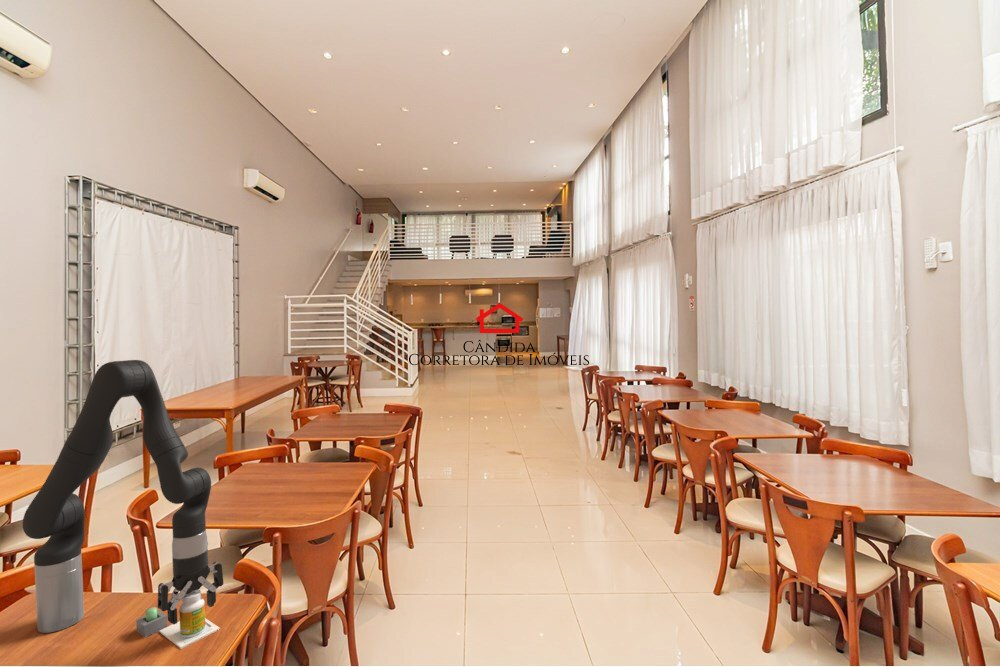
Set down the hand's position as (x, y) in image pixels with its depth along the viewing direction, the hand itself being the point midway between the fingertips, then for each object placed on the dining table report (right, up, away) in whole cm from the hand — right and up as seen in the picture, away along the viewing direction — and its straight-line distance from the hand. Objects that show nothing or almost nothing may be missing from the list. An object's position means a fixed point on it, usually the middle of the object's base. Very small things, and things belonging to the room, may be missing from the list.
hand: (192, 614), depth 124 cm
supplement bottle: (0, -5, 0) cm, 5 cm away
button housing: (-12, -5, +2) cm, 13 cm away
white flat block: (-2, -5, +1) cm, 5 cm away
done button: (-12, -3, +2) cm, 12 cm away
